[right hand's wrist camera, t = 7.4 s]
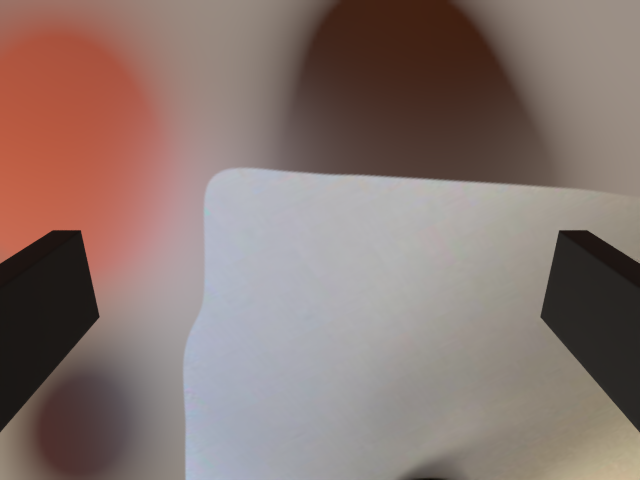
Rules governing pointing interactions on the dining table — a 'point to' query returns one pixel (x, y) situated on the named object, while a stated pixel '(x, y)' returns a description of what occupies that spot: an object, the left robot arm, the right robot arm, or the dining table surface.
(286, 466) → the dining table surface
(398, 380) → the dining table surface
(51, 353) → the right robot arm
